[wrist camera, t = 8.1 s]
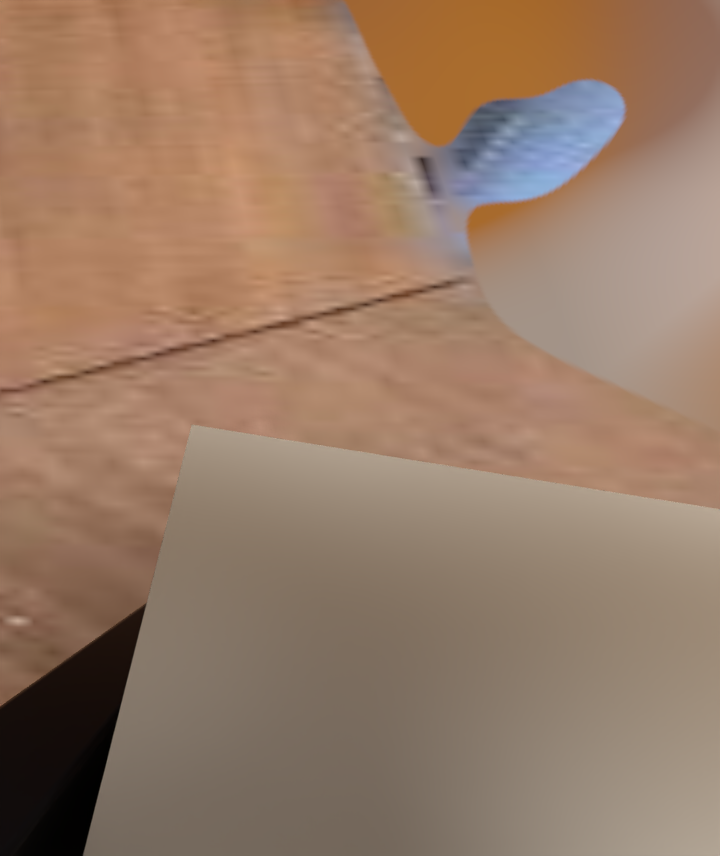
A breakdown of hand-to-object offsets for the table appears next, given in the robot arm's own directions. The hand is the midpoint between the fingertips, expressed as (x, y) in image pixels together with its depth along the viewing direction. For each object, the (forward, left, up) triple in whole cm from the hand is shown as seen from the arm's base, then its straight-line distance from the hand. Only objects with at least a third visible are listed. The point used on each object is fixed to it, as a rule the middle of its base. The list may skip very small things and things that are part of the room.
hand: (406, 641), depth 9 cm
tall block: (-1, -1, -7) cm, 7 cm away
